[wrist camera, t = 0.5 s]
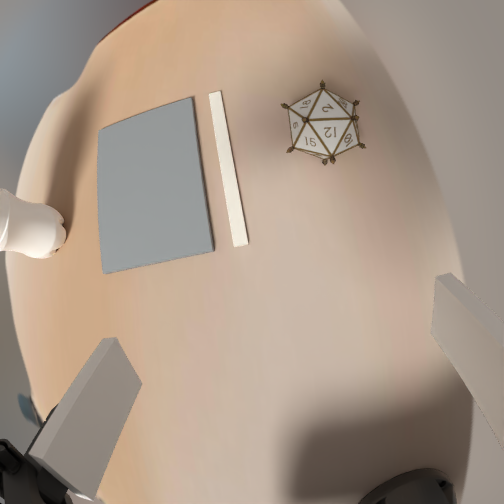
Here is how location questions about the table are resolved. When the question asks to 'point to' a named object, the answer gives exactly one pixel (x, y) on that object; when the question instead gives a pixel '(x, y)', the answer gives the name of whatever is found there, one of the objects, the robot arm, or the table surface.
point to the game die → (323, 125)
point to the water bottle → (29, 227)
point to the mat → (151, 189)
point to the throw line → (228, 171)
